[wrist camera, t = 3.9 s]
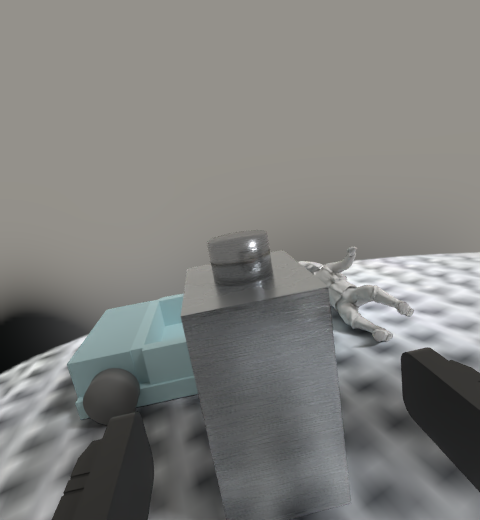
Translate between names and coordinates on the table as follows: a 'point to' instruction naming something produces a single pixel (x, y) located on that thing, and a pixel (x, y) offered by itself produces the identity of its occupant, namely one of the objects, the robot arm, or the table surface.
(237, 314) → the knobbed metal block
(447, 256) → the table surface
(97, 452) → the robot arm
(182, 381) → the chassis
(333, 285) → the soldier figure
